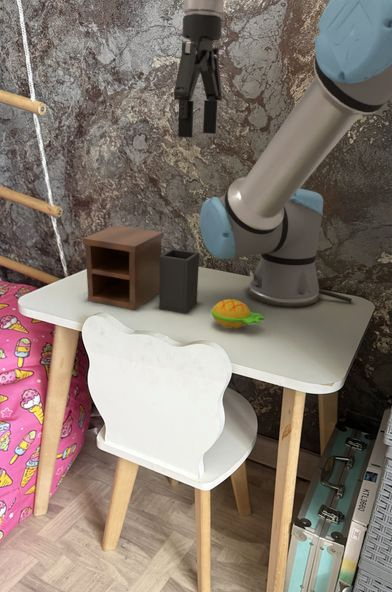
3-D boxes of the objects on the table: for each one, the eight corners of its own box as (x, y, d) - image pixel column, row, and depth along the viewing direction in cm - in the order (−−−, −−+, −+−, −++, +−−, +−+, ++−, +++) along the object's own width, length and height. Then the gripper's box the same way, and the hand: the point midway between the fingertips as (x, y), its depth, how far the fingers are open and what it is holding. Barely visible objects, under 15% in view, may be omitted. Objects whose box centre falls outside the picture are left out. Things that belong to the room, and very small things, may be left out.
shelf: (162, 291, 115) (163, 232, 109) (135, 310, 105) (135, 246, 99) (116, 283, 119) (114, 225, 113) (86, 301, 108) (82, 238, 102)
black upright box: (197, 303, 109) (199, 252, 104) (186, 313, 104) (187, 260, 99) (170, 299, 111) (171, 248, 106) (158, 308, 106) (159, 256, 101)
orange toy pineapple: (218, 316, 104) (220, 291, 101) (266, 326, 100) (269, 300, 98) (204, 329, 98) (205, 302, 96) (255, 340, 94) (257, 313, 92)
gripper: (207, 23, 111) (202, 130, 121) (156, 5, 90) (155, 137, 100) (240, 23, 109) (233, 133, 118) (196, 5, 88) (191, 140, 97)
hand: (197, 135), depth 109 cm, fingers open, 13 cm apart
